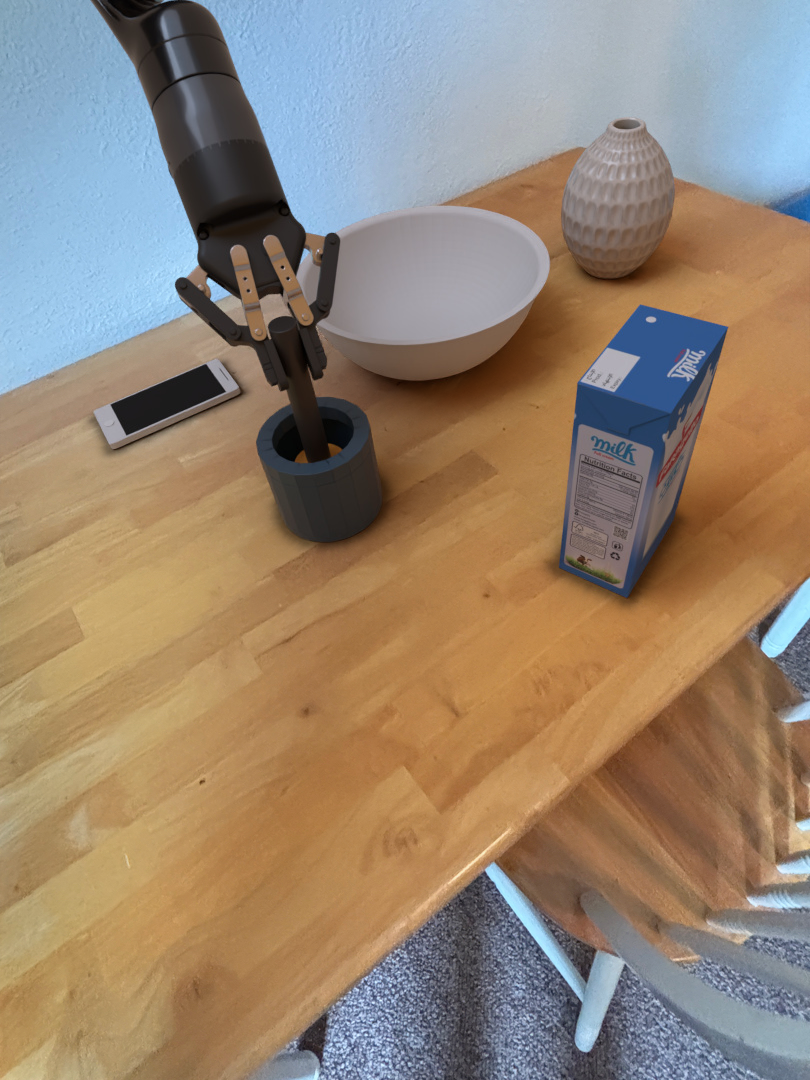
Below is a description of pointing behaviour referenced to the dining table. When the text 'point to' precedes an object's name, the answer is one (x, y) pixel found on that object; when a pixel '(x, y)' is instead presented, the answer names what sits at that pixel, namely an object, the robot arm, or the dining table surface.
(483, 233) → the bowl
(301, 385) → the plunger
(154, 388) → the smartphone
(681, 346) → the milk carton
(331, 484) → the jar
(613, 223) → the vase
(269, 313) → the dining table surface
